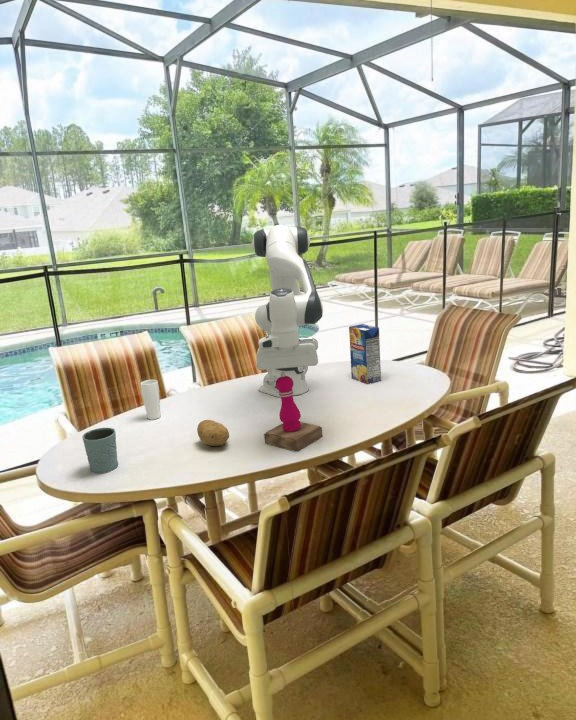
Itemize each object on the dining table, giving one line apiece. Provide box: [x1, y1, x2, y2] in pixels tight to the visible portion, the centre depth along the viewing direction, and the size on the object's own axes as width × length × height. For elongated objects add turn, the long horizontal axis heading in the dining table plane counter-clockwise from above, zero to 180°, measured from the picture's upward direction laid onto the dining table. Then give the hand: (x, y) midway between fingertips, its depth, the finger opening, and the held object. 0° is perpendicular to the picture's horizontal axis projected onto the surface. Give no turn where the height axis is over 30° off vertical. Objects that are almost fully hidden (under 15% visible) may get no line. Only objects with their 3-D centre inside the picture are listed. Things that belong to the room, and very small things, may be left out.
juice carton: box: [348, 323, 382, 385], centre depth 246 cm, size 12×8×24 cm, turn 28°
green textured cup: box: [82, 427, 119, 475], centre depth 179 cm, size 10×10×12 cm
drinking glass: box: [140, 379, 161, 421], centre depth 221 cm, size 7×7×15 cm
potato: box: [196, 419, 230, 447], centre depth 191 cm, size 10×14×8 cm
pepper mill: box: [276, 372, 302, 432], centre depth 187 cm, size 7×7×20 cm
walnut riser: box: [263, 421, 323, 453], centre depth 190 cm, size 14×14×4 cm
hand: (288, 380), depth 184 cm, fingers open, 8 cm apart
